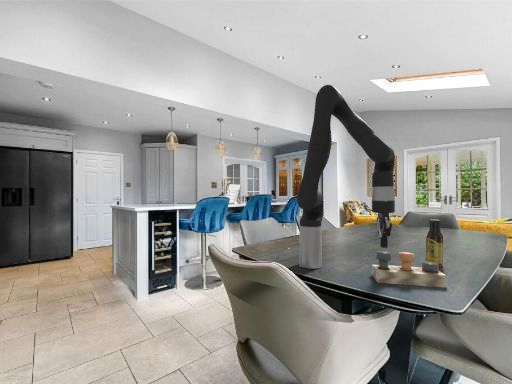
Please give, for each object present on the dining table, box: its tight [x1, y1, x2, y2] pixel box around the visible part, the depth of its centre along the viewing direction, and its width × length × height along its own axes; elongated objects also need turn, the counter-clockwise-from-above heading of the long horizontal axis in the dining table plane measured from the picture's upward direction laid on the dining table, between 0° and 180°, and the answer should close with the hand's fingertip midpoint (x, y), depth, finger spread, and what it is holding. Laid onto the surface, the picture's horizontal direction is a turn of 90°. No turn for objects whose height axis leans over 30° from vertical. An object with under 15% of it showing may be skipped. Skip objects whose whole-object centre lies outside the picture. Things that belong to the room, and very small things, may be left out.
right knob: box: [421, 261, 440, 273], centre depth 90 cm, size 5×5×6 cm
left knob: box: [375, 250, 392, 270], centre depth 93 cm, size 5×5×6 cm
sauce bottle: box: [425, 219, 444, 268], centre depth 111 cm, size 6×6×20 cm
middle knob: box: [398, 251, 415, 271], centre depth 92 cm, size 5×5×6 cm
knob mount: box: [371, 264, 447, 289], centre depth 91 cm, size 21×9×4 cm, turn 77°
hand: (383, 247), depth 93 cm, fingers closed
